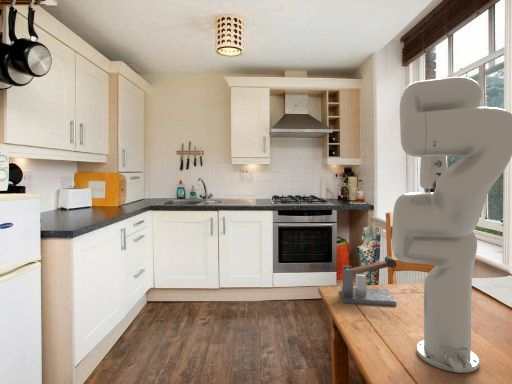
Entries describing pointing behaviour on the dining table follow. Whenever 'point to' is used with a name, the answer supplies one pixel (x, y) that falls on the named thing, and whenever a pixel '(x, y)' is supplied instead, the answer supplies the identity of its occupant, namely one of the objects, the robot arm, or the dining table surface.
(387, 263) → the lever
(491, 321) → the dining table surface
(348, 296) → the base
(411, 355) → the dining table surface
